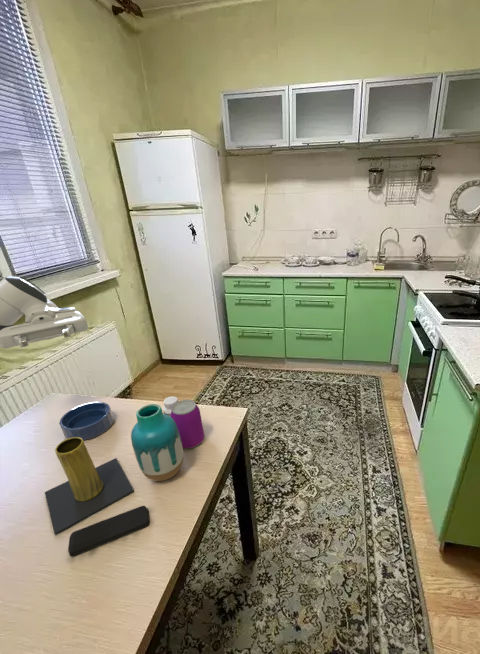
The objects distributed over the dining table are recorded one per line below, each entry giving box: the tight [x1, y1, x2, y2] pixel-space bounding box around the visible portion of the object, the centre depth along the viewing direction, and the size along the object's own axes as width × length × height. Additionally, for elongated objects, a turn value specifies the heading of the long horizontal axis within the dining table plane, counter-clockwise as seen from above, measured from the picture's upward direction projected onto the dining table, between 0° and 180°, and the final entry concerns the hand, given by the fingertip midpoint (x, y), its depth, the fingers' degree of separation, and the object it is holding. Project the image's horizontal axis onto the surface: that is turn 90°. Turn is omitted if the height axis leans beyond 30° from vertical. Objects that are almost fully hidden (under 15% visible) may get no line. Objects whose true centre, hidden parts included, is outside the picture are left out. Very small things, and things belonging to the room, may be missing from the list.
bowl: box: [58, 401, 115, 441], centre depth 97 cm, size 13×13×4 cm
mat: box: [44, 457, 135, 536], centre depth 77 cm, size 16×14×1 cm
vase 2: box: [130, 403, 184, 482], centre depth 77 cm, size 11×11×19 cm
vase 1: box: [54, 437, 103, 501], centre depth 73 cm, size 6×6×14 cm
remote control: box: [67, 505, 151, 558], centre depth 67 cm, size 5×2×15 cm
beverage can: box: [170, 399, 205, 449], centre depth 89 cm, size 8×8×12 cm
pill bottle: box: [162, 396, 179, 417], centre depth 96 cm, size 5×5×9 cm
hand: (45, 339), depth 84 cm, fingers open, 8 cm apart
